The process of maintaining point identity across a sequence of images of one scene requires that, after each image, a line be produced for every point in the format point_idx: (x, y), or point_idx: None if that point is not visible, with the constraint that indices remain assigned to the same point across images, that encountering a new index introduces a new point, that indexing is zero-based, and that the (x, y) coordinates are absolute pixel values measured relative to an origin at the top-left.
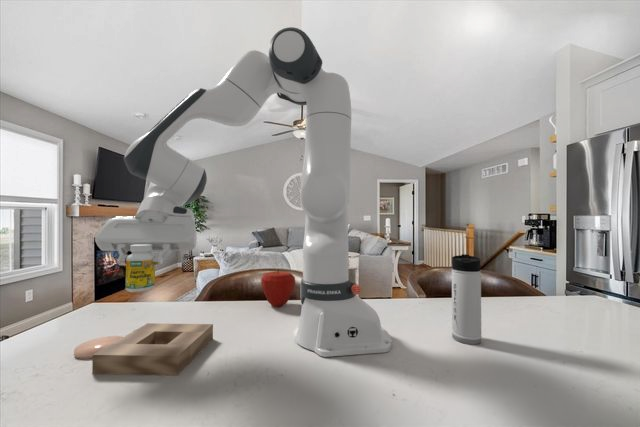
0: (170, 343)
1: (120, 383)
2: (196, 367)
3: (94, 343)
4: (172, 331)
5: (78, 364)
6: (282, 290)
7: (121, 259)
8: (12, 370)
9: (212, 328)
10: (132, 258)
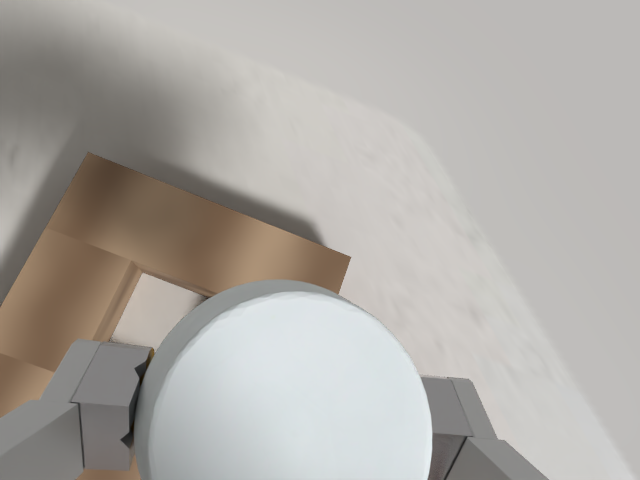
0: (119, 265)
1: (248, 190)
2: (47, 204)
3: None
4: None
5: None
6: None
7: (441, 379)
8: (551, 365)
9: None
10: (329, 291)
